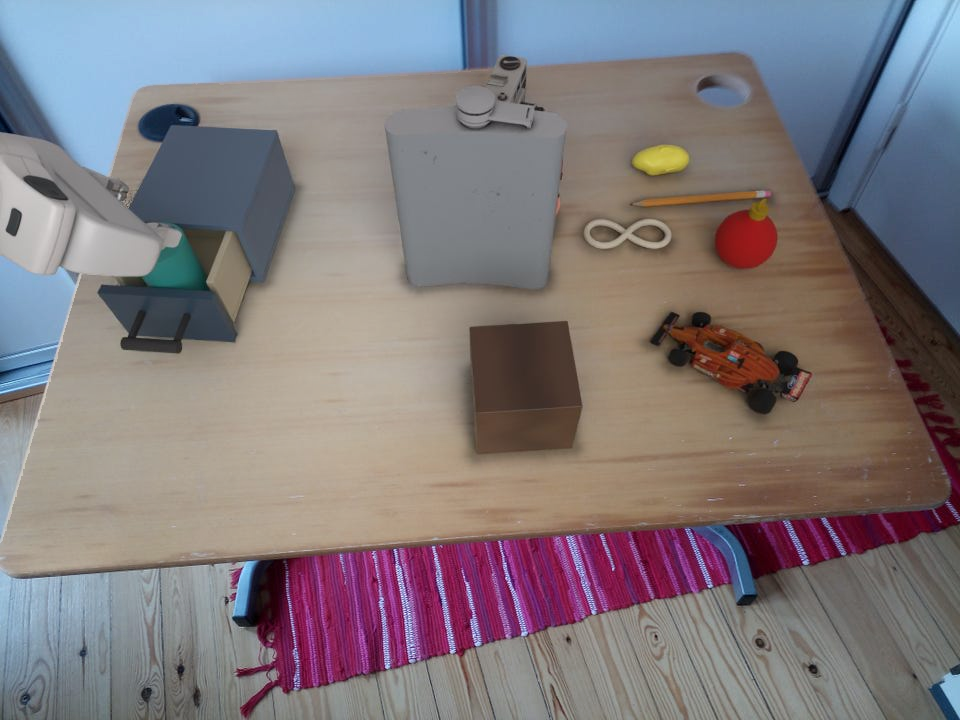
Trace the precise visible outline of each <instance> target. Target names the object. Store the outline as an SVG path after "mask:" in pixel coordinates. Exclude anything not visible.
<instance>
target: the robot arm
mask: <svg viewBox="0 0 960 720" xmlns="http://www.w3.org/2000/svg"><path fill="white" fill-rule="evenodd" d="M129 192H130V187H129V186H128V185H127V184H126V183H125V182H124V181H123V180H122V179H119V178H116V177H111V176H106V175H105V174H102V173H100V172H97V171H95V170H93V169H90V168H88V167H85V166H82V165H81V164H79V162H77V161H76V160H75V159H74V158H73V157H72V156H71V155H70V154H68V153H67V152H66V151H65V150H64V149H63V148H62V147H61V146H59V145H58V144H55V143H53V142H52V141H51V142H50V141H48V140H45V139H43V138H37V137H32V136H26V135H22V134H21V135H20V134H15V133H8V132H2V131H0V256H1V257H3V258H5V259H7V260H8V261H10V262H12V263H13V264H15V265H17V266H18V267H20V268H22V269H23V270H25V271H27V272H28V273H31V274H32V275H33V274H34V275H39V276H55V275H56V274H57V272H58V270H59V268H62V269H64V270H66V271H69V272H72V273H75V274H79V275H80V274H81V275H89V276H103V277H114V276H125V277H138V276H145V275H147V274H149V273H150V272H152V271H153V270H154V268H155V266H156V263H157V261H158V258H159V256H160V253H161V250H162V247H172V248H174V247H176V246H177V245H178V244H179V241H180V239H181V236H182V233H181V232H180V231H179V230H177V229H176V228H175V227H174V226H173V225H172V224H165V223H158V225H157V227H156V228H152V227H151V226H150V225H147V224H145V223H144V222H143V221H142V220H141V219H140V218H139V217H138V216H137V215H135V214H134V213H133V212H132V211H131V210H130V209H129V206H127V205H126V204H125V203H123V202H124V201H126V199H127V198H128V193H129Z"/></svg>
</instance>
